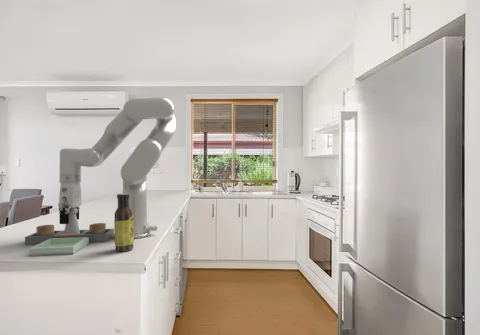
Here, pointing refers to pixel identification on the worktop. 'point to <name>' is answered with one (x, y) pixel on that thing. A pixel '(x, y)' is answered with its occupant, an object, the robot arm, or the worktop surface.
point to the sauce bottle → (123, 224)
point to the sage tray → (59, 246)
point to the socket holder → (70, 236)
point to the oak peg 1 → (45, 230)
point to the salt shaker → (72, 223)
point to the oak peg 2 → (97, 228)
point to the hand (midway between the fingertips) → (69, 221)
